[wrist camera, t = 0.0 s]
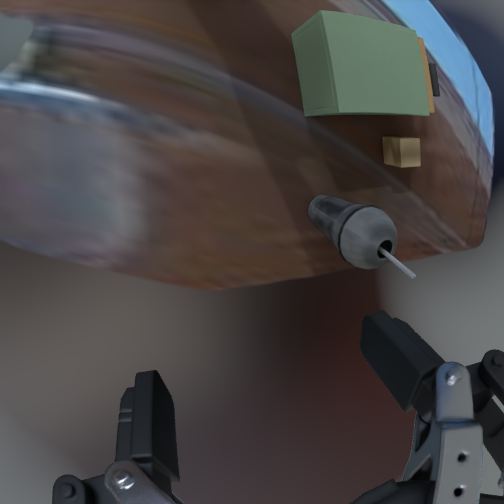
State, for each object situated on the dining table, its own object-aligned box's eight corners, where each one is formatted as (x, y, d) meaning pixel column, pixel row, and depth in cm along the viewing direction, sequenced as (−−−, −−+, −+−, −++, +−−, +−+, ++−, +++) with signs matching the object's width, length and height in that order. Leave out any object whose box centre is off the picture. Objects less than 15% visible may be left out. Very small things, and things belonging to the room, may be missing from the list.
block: (382, 136, 38) (399, 138, 34) (401, 136, 38) (419, 138, 34) (383, 163, 40) (401, 167, 36) (403, 162, 40) (420, 166, 36)
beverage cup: (332, 176, 39) (433, 215, 21) (349, 217, 42) (441, 274, 24) (290, 201, 39) (374, 261, 21) (311, 241, 42) (390, 316, 24)
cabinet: (375, 42, 31) (415, 30, 23) (387, 115, 36) (430, 116, 28) (290, 34, 29) (320, 9, 21) (304, 116, 34) (339, 112, 26)
